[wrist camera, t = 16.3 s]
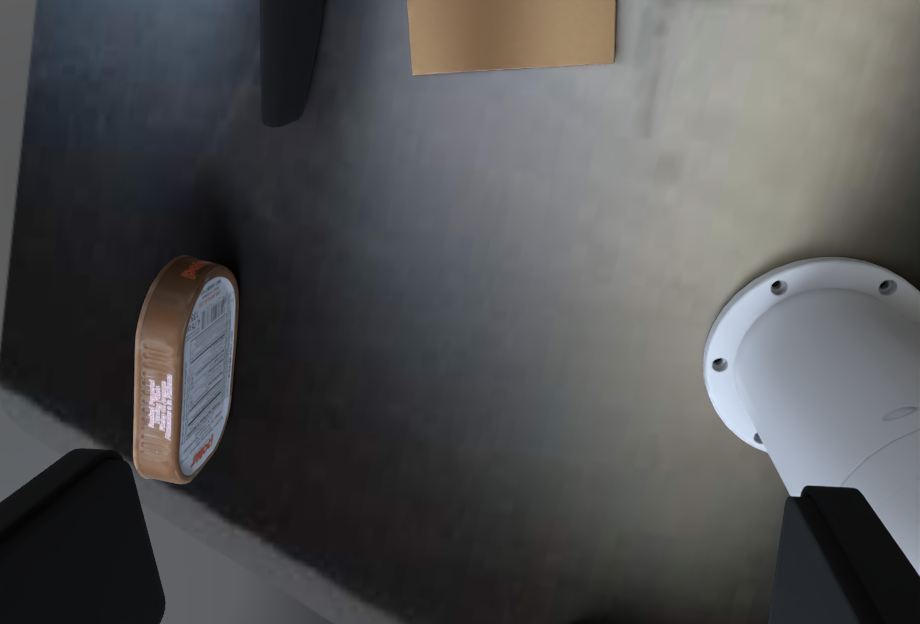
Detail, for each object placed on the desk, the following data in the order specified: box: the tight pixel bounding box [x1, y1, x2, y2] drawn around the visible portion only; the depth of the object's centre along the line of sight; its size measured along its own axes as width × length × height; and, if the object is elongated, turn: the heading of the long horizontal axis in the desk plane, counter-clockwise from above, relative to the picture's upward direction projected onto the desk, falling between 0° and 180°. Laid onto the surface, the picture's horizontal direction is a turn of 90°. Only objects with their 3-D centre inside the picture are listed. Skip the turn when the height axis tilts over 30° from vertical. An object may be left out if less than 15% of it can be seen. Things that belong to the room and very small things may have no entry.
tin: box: [133, 255, 239, 484], centre depth 40 cm, size 15×3×8 cm, turn 168°
